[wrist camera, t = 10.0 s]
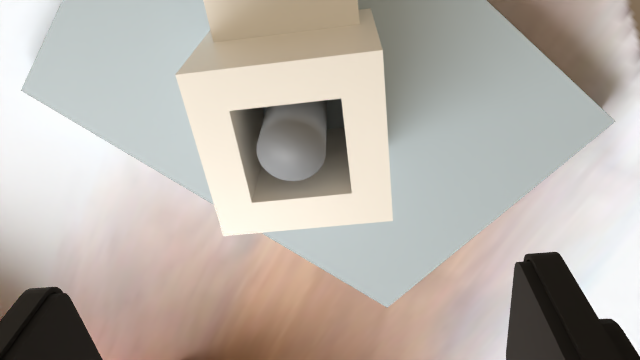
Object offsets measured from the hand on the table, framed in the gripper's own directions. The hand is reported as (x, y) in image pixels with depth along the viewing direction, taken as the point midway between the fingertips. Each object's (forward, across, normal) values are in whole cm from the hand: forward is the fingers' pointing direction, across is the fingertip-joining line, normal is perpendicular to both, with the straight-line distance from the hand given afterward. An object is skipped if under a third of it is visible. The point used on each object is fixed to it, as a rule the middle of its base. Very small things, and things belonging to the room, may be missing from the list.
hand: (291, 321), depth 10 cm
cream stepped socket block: (+11, +1, -4) cm, 12 cm away
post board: (+13, 0, 0) cm, 13 cm away
